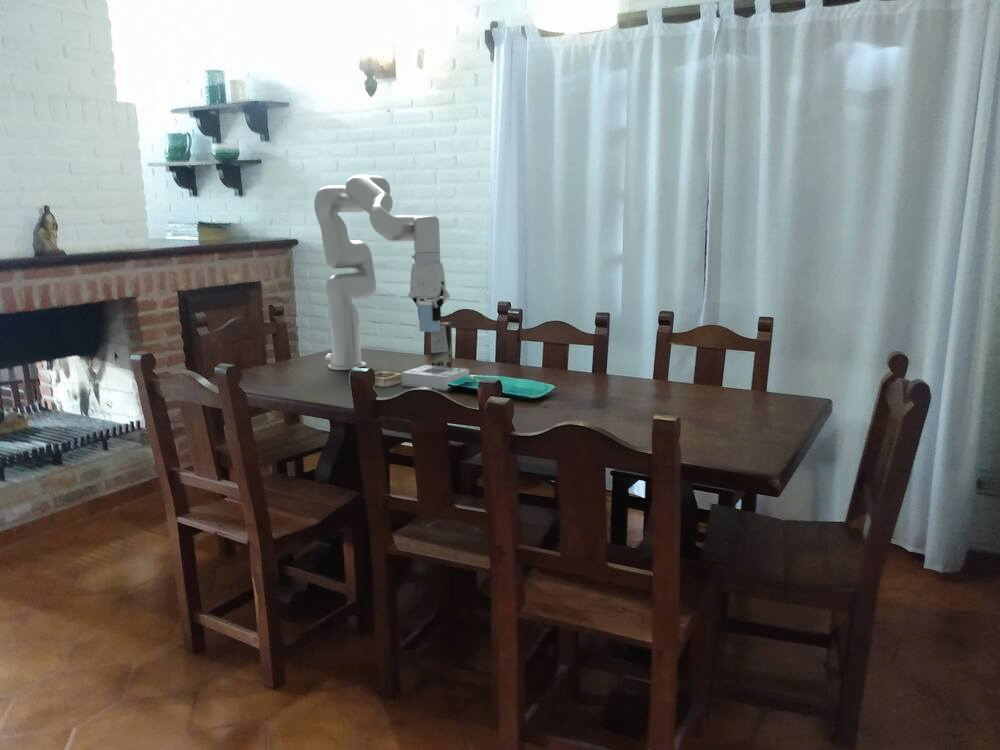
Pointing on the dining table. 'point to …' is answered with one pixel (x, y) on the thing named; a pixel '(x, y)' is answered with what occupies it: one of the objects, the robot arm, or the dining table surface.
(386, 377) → the wooden square frame
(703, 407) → the dining table surface
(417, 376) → the port
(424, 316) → the plug
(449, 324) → the coffee box
